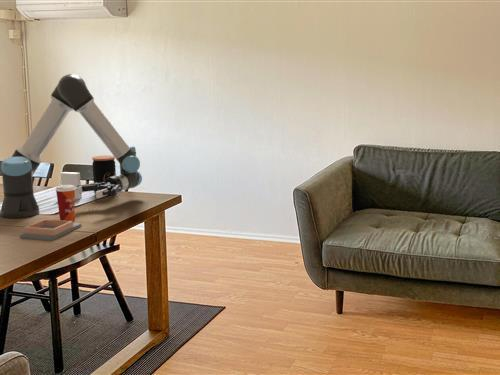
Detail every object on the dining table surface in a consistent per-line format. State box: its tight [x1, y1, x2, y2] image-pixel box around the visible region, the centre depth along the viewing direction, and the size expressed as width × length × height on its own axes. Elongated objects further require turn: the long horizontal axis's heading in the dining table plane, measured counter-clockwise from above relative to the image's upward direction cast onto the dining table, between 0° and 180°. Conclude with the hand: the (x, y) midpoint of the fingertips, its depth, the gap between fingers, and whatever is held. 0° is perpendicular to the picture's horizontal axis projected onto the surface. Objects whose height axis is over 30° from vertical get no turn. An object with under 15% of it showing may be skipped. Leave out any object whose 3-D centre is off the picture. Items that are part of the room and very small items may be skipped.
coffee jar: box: [91, 155, 117, 197], centre depth 295 cm, size 11×11×18 cm
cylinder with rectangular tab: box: [60, 171, 83, 200], centre depth 287 cm, size 9×9×12 cm
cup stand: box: [19, 218, 82, 242], centre depth 230 cm, size 13×20×3 cm, turn 164°
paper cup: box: [55, 184, 76, 222], centre depth 246 cm, size 8×8×14 cm
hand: (83, 193), depth 254 cm, fingers open, 13 cm apart
